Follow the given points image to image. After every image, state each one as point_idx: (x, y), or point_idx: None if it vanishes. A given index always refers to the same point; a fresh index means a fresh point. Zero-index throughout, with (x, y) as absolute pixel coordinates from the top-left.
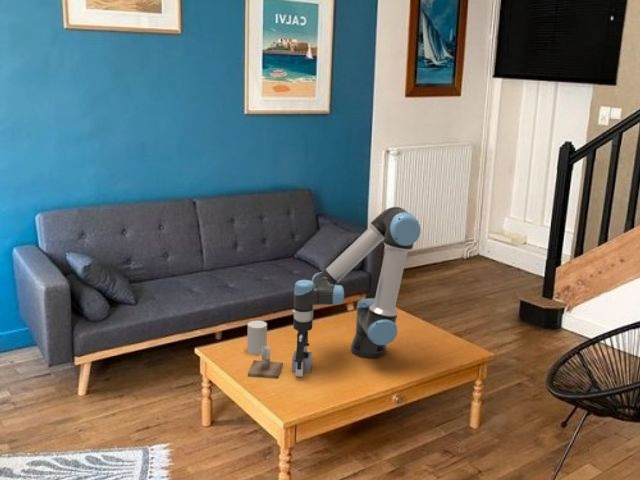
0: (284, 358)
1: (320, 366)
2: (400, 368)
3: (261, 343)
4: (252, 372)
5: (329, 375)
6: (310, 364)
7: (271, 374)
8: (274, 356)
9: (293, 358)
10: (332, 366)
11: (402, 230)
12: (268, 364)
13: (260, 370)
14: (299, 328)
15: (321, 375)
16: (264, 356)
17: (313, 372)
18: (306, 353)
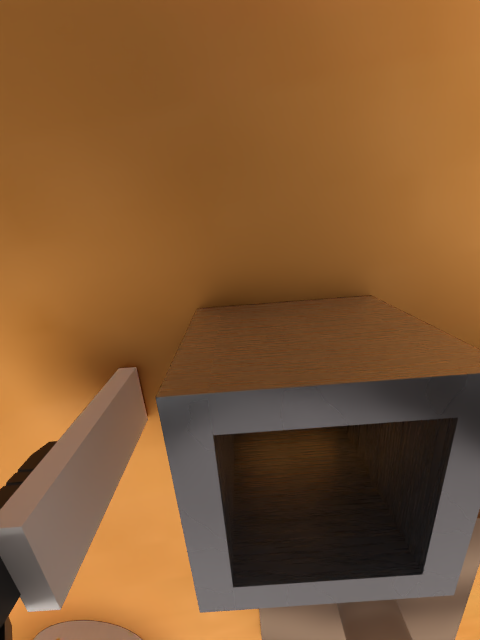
0: (134, 522)
1: (183, 210)
2: None
3: None
4: (438, 636)
5: (404, 38)
6: (313, 321)
7: (471, 554)
8: (129, 575)
9: (456, 580)
10: (133, 41)
11: None
12: (406, 636)
13: (407, 612)
14: None
15: (409, 154)
16: None
17: (343, 259)
18: (217, 462)
